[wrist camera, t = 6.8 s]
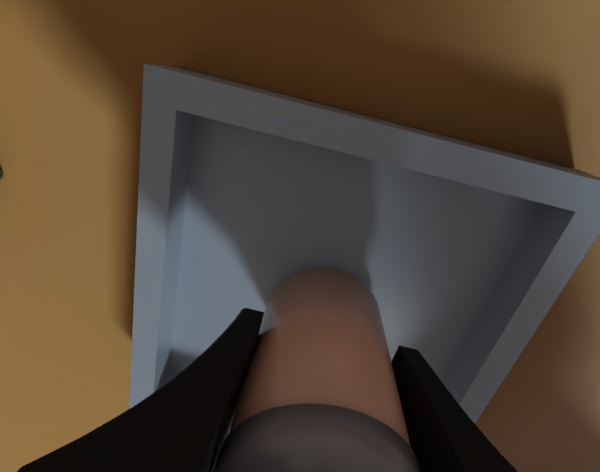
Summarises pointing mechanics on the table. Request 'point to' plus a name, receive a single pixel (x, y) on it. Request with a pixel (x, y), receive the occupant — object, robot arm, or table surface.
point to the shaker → (319, 385)
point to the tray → (343, 228)
